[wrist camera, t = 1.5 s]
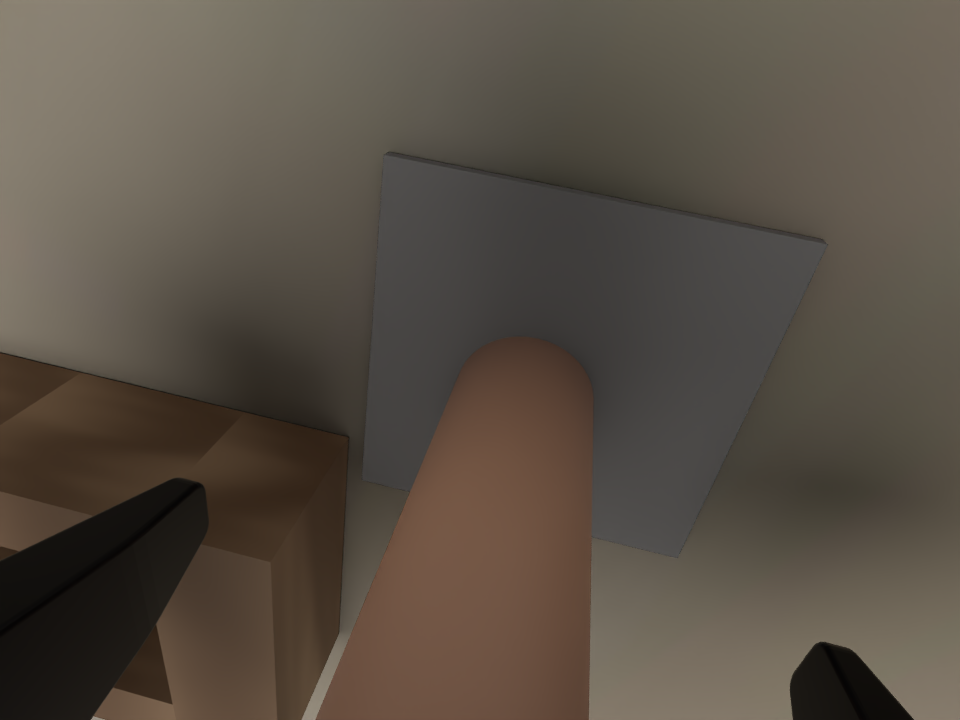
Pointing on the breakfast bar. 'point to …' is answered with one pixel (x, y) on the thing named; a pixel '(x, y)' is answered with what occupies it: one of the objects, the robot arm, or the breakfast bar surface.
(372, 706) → the peg
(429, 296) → the mat
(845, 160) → the breakfast bar surface
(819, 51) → the breakfast bar surface
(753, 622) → the breakfast bar surface
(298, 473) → the hole block
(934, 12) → the breakfast bar surface
